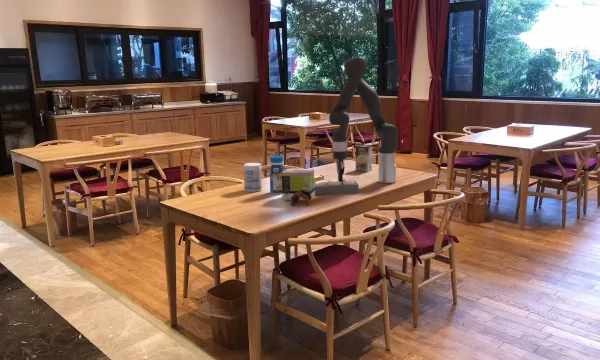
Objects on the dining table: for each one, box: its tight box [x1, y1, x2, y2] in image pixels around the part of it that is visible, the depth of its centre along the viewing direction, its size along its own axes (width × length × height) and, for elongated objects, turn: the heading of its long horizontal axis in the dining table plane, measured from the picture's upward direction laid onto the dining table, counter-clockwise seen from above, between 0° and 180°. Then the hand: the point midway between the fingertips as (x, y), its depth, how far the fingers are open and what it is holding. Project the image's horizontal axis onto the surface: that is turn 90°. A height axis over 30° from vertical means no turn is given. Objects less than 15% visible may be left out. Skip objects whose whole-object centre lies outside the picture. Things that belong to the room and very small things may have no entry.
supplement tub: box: [243, 162, 263, 193], centre depth 275 cm, size 10×10×15 cm
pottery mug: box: [290, 190, 312, 206], centre depth 246 cm, size 12×10×8 cm
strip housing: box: [315, 180, 360, 196], centre depth 269 cm, size 25×9×4 cm, turn 96°
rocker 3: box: [342, 178, 355, 185], centre depth 269 cm, size 6×4×2 cm
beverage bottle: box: [268, 154, 286, 195], centre depth 268 cm, size 8×8×20 cm
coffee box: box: [355, 144, 373, 173], centre depth 319 cm, size 9×6×16 cm
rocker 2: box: [327, 179, 340, 185], centre depth 268 cm, size 6×4×2 cm
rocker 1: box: [314, 179, 326, 186], centre depth 268 cm, size 6×4×2 cm
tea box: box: [281, 168, 316, 202], centre depth 257 cm, size 15×10×15 cm, turn 74°
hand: (340, 181), depth 269 cm, fingers closed
